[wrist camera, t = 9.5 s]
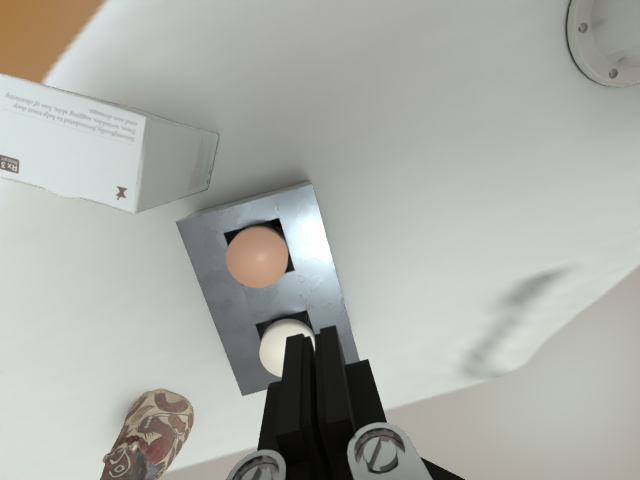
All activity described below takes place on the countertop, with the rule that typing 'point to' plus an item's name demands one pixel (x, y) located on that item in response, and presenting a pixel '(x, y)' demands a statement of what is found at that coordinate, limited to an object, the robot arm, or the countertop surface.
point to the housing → (277, 299)
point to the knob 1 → (258, 255)
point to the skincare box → (98, 148)
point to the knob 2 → (281, 340)
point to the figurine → (149, 437)
